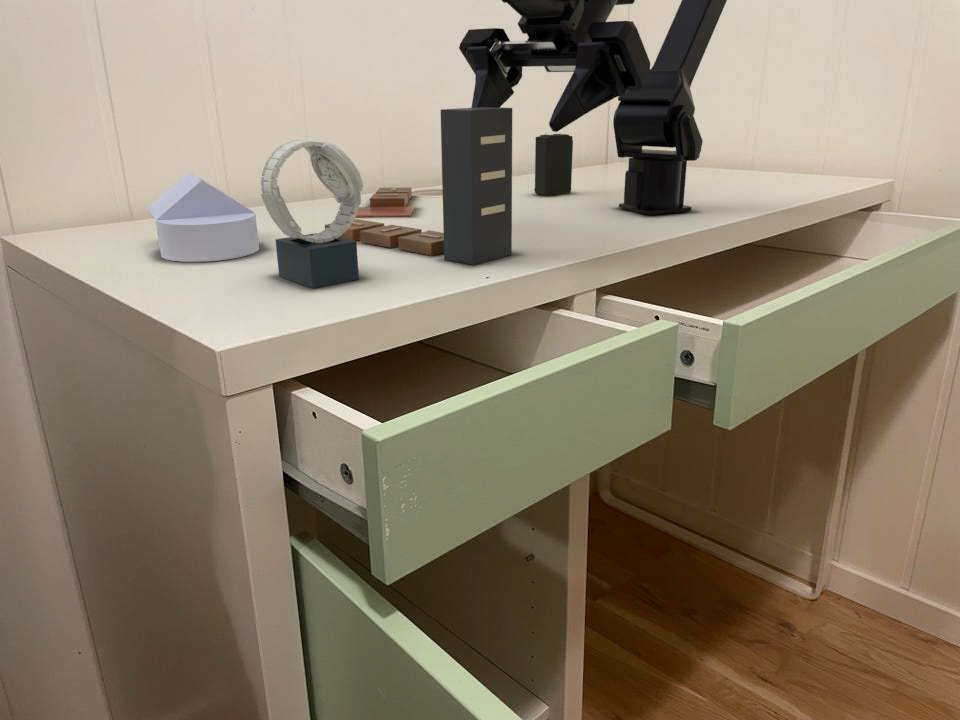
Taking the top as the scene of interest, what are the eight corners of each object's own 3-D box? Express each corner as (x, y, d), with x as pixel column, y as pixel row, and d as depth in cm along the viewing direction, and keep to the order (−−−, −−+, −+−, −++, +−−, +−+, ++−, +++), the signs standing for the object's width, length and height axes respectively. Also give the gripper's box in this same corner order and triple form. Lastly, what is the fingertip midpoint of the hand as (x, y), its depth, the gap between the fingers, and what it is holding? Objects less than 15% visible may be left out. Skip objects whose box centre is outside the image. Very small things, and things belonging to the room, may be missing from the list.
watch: (378, 275, 65) (371, 139, 62) (292, 292, 60) (278, 145, 57) (342, 264, 69) (333, 136, 66) (259, 279, 64) (244, 141, 61)
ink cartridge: (560, 191, 111) (561, 133, 109) (571, 193, 110) (573, 134, 107) (534, 194, 109) (534, 135, 106) (545, 196, 107) (546, 135, 104)
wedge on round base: (152, 240, 80) (166, 265, 69) (142, 174, 78) (154, 189, 67) (241, 232, 84) (268, 255, 73) (234, 168, 82) (260, 182, 71)
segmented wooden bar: (463, 248, 75) (462, 234, 75) (431, 255, 72) (431, 241, 72) (357, 229, 85) (356, 217, 84) (325, 236, 82) (324, 223, 81)
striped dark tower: (443, 259, 71) (440, 109, 66) (483, 249, 75) (482, 107, 70) (473, 265, 69) (471, 110, 64) (512, 254, 72) (513, 107, 68)
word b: (410, 216, 93) (409, 205, 92) (351, 216, 93) (350, 205, 92) (421, 196, 108) (420, 186, 108) (370, 196, 108) (370, 187, 108)
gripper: (470, -61, 75) (391, 60, 71) (643, -87, 64) (561, 56, 59) (519, 31, 83) (451, 144, 79) (680, 22, 72) (610, 155, 68)
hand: (511, 126), depth 71 cm, fingers open, 9 cm apart
